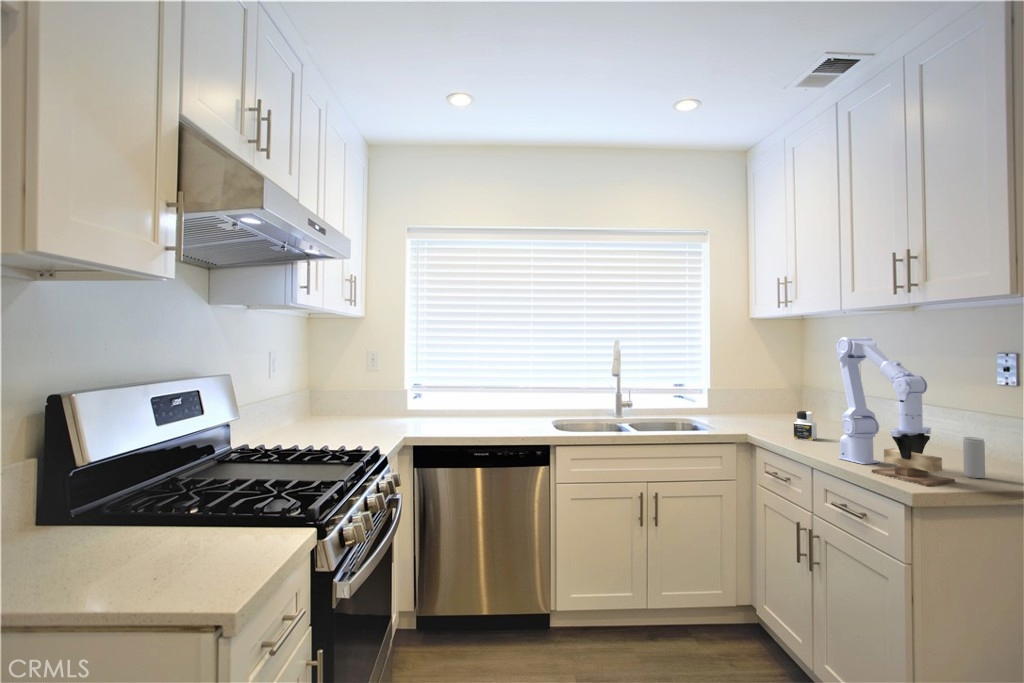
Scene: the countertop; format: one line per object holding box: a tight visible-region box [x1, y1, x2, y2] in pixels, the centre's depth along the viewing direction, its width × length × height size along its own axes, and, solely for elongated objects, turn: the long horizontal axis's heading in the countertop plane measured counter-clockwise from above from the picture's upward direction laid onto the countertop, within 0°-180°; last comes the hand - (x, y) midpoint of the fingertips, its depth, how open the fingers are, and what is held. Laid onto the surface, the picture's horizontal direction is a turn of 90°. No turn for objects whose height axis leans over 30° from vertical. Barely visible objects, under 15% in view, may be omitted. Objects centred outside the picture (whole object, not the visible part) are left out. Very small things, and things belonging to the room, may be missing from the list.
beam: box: [883, 447, 943, 473], centre depth 150 cm, size 14×4×4 cm, turn 17°
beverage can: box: [962, 436, 986, 479], centre depth 149 cm, size 5×5×12 cm
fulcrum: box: [871, 465, 956, 487], centre depth 150 cm, size 16×12×4 cm
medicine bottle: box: [793, 410, 818, 441], centre depth 212 cm, size 7×7×12 cm
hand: (911, 458), depth 150 cm, fingers open, 4 cm apart
